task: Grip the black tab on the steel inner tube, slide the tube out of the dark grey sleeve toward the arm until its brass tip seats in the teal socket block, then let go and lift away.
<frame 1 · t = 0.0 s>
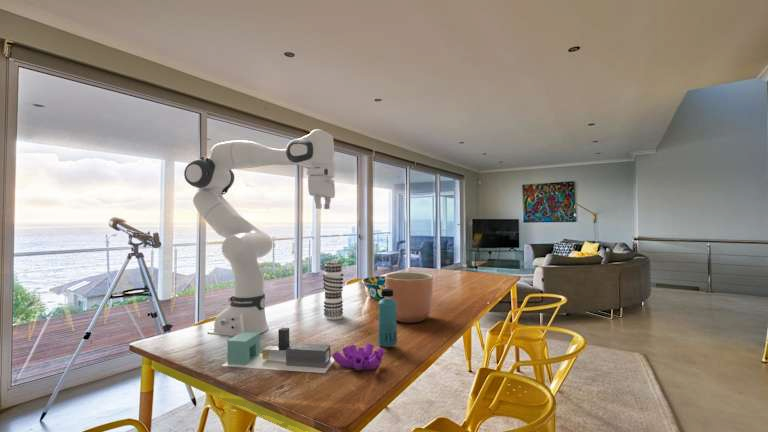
hand: (322, 208, 137), 48 cm above the table, fingers open, 8 cm apart
socket block: (244, 359, 111), resting on mounting board
inner tube: (295, 344, 108), point 7 cm above the table, slide at 0.0 cm
beverage bottle: (387, 348, 123), on the table
outer sleeve: (308, 363, 108), resting on mounting board
planter: (409, 319, 157), on the table
decorative candle: (333, 317, 161), on the table
mounting board: (280, 364, 109), on the table
purple coral: (362, 369, 106), on the table
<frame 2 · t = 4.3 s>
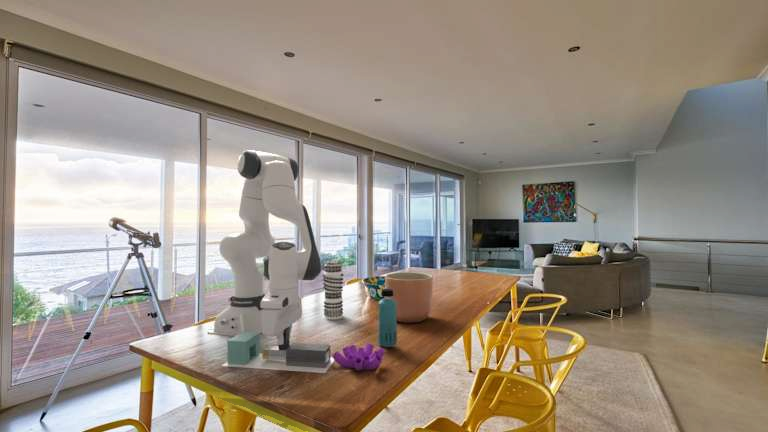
hand: (284, 341, 109), 7 cm above the table, fingers closed on inner tube, 2 cm apart
inner tube: (295, 344, 108), point 6 cm above the table, slide at 0.0 cm, touching gripper
everything else where it was.
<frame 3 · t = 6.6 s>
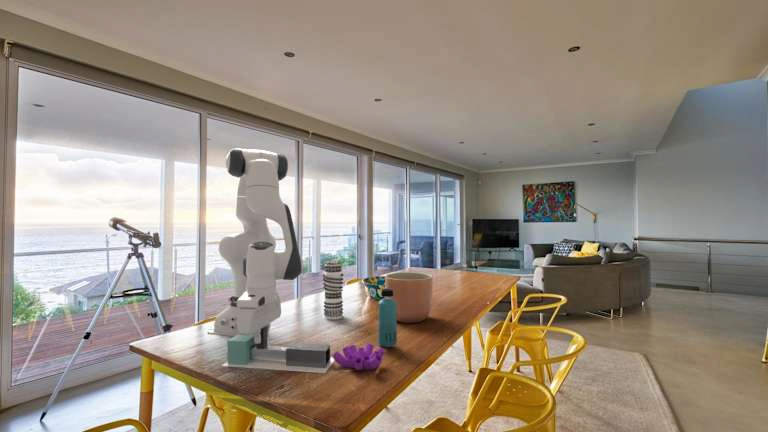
hand: (261, 340, 110), 7 cm above the table, fingers closed on inner tube, 2 cm apart
inner tube: (273, 343, 109), point 7 cm above the table, slide at 7.2 cm, touching gripper
everything else where it was.
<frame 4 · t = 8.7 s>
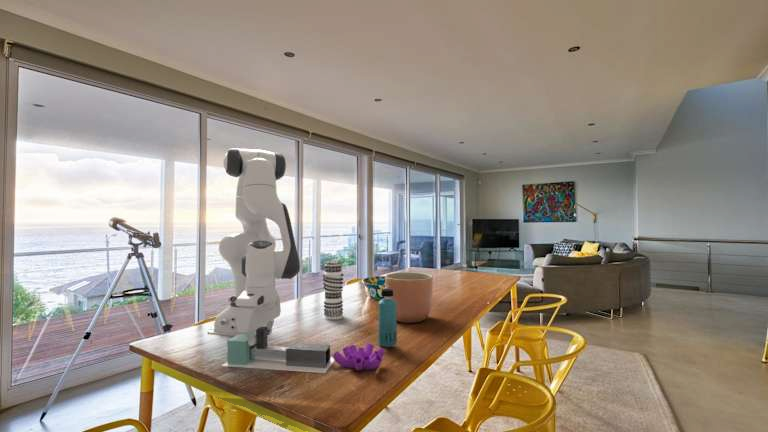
hand: (260, 339, 110), 7 cm above the table, fingers open, 8 cm apart
inner tube: (273, 343, 109), point 7 cm above the table, slide at 7.2 cm
everything else where it was.
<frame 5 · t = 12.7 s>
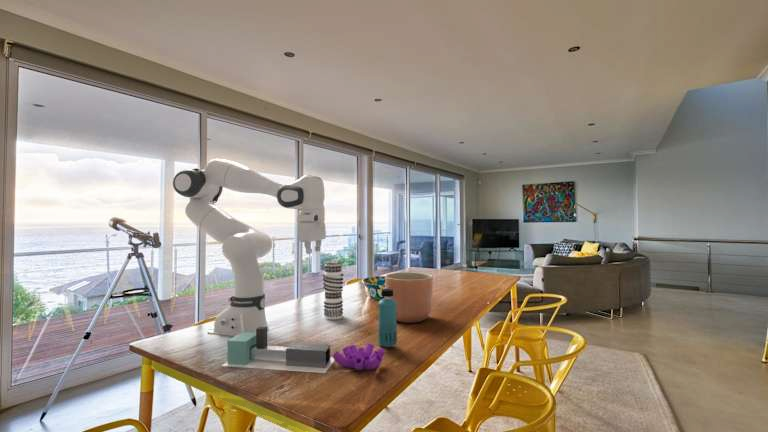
hand: (313, 252, 140), 31 cm above the table, fingers open, 8 cm apart
nothing on the table moved.
at the end: inner tube slide at 7.2 cm; the gripper is holding nothing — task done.
